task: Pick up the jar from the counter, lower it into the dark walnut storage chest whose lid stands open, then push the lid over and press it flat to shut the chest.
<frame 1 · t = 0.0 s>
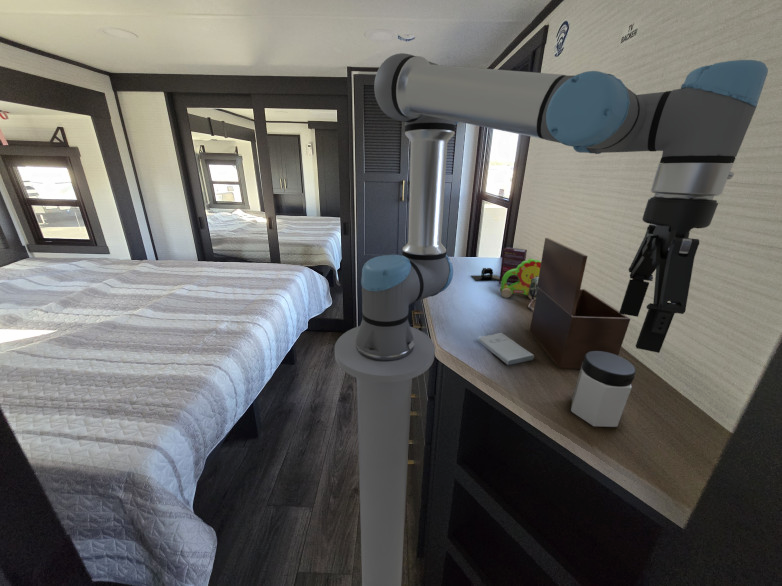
hand: (636, 330, 52), 21 cm above the table, tool pointing down, fingers open, 13 cm apart
build plate: (486, 278, 141), on the table
chest: (566, 348, 85), on the table
hard drive: (504, 351, 84), on the table
toy lion: (520, 297, 121), on the table
supplement box: (509, 286, 132), on the table
lid: (558, 273, 78), point 22 cm above the table, hinge at 92.0°
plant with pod: (539, 310, 109), on the table
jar: (592, 413, 63), on the table
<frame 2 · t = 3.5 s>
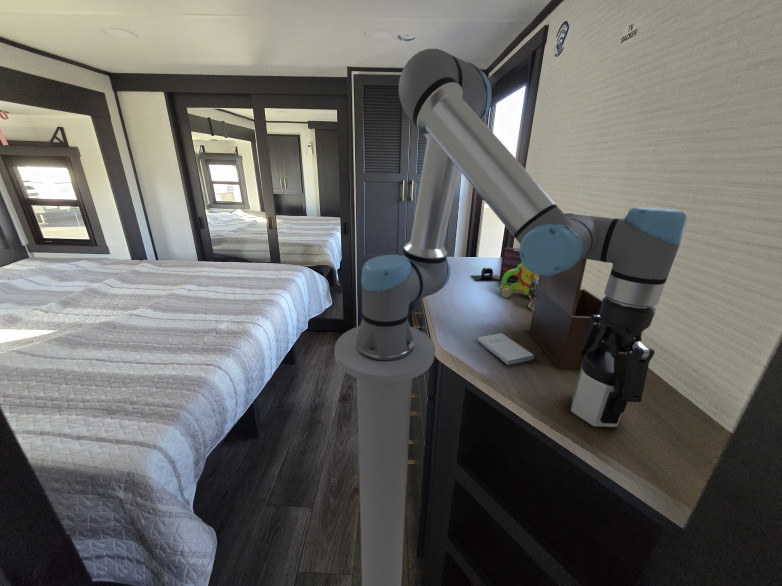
hand: (595, 405, 62), 2 cm above the table, tool pointing down, fingers closed on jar, 8 cm apart
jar: (592, 413, 63), on the table, touching gripper
everything else where it was.
when the fingers open (3 cm above the table, at t = 14.5 s): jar stays where it is, resting on chest.
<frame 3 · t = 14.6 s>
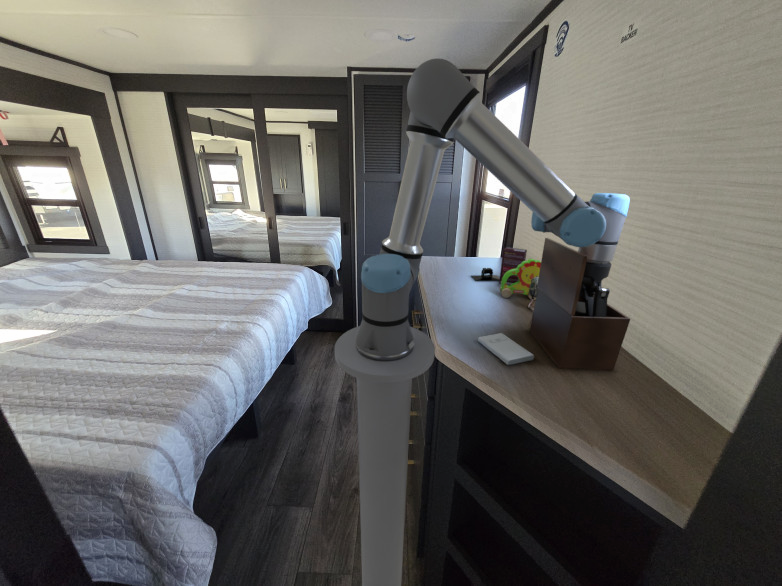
hand: (572, 338, 84), 3 cm above the table, tool pointing down, fingers open, 11 cm apart
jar: (571, 347, 85), resting on chest
everything else where it was.
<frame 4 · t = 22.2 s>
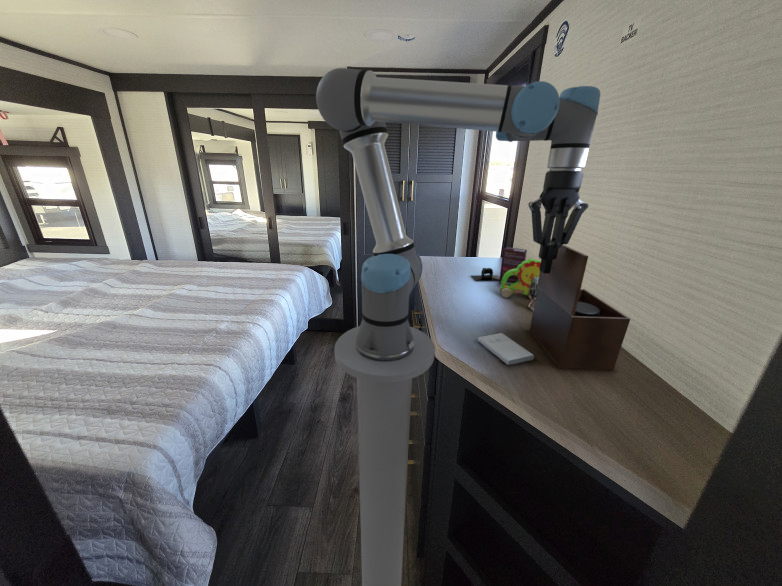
hand: (544, 271, 78), 22 cm above the table, tool pointing down, fingers closed
lid: (559, 273, 78), point 22 cm above the table, hinge at 91.2°, touching gripper
everything else where it was.
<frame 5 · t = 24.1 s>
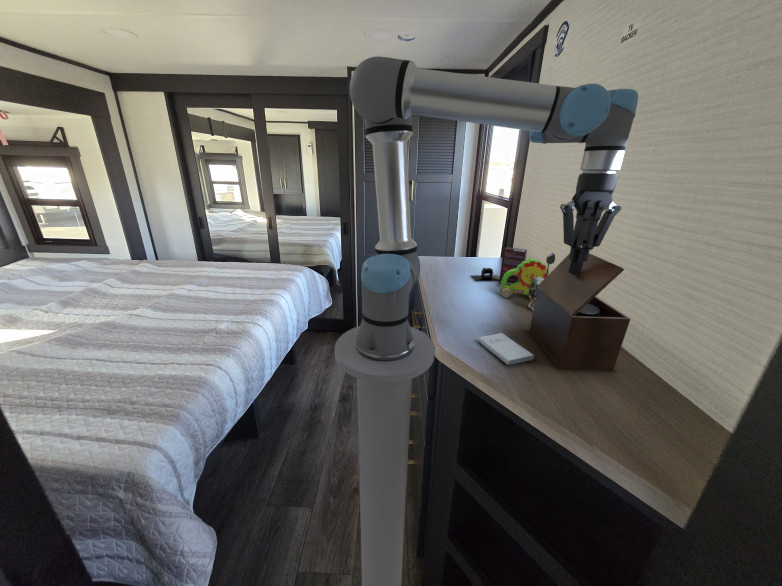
hand: (574, 273, 78), 22 cm above the table, tool pointing down, fingers closed
lid: (574, 278, 78), point 20 cm above the table, hinge at 54.4°, touching gripper
everything else where it was.
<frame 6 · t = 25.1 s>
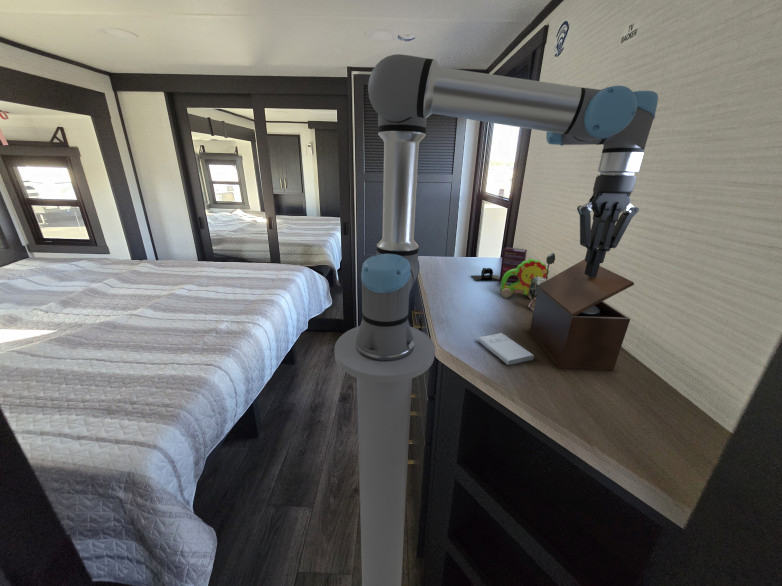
hand: (590, 275, 78), 21 cm above the table, tool pointing down, fingers closed
lid: (579, 285, 79), point 19 cm above the table, hinge at 35.6°, touching gripper
everything else where it was.
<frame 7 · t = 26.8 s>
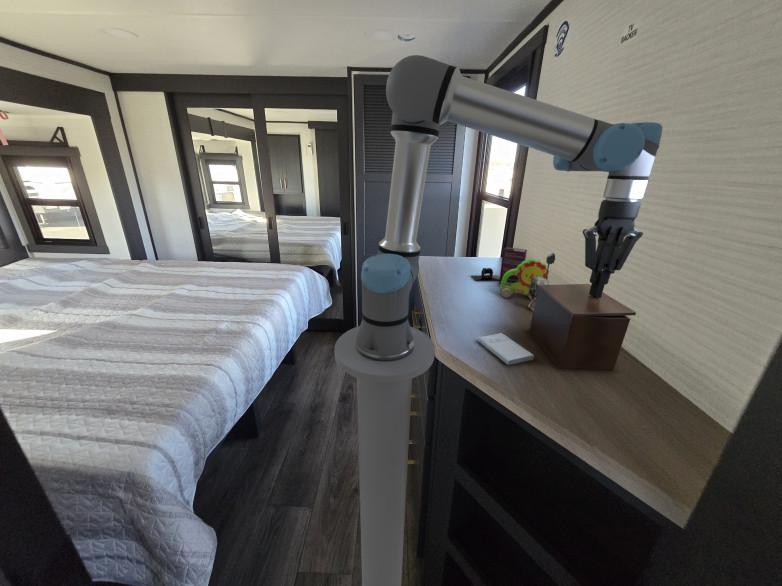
hand: (594, 295, 80), 16 cm above the table, tool pointing down, fingers closed
lid: (581, 298, 80), point 15 cm above the table, hinge at 3.4°, touching gripper
everything else where it was.
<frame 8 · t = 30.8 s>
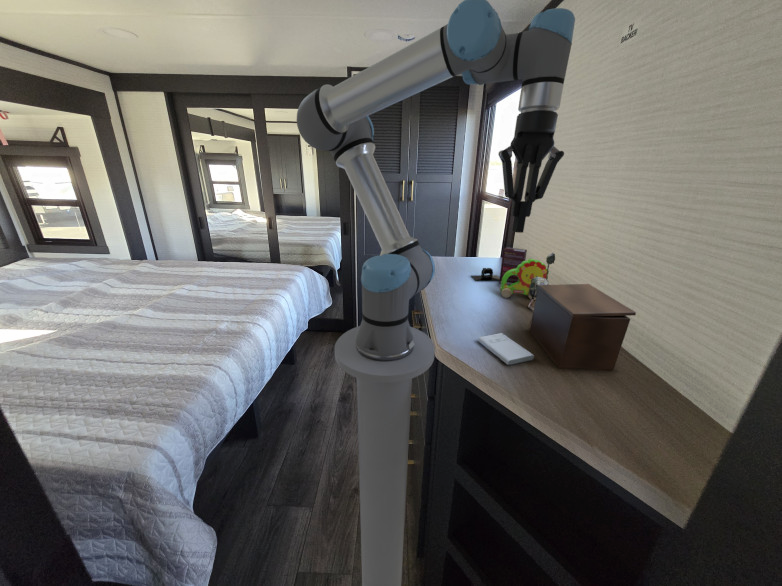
hand: (517, 231, 70), 32 cm above the table, tool pointing down, fingers closed
lid: (581, 298, 80), point 15 cm above the table, hinge at 3.3°
everything else where it was.
at the end: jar 1.0 cm from the chest (horizontally); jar resting on chest; lid at +3° (first picture: +92°) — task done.
